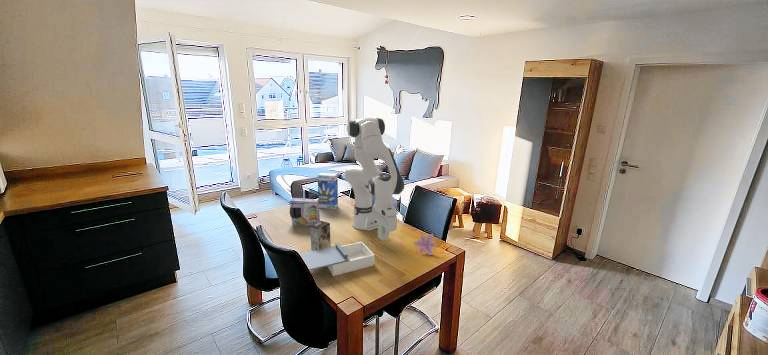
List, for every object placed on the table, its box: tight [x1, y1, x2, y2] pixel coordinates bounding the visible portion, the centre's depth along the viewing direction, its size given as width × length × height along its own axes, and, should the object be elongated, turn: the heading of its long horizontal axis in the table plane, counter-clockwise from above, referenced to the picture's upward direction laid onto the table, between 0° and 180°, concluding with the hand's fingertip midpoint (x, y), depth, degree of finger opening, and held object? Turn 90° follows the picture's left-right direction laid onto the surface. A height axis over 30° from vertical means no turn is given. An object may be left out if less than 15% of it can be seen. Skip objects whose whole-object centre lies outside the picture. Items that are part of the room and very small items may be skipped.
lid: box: [299, 242, 350, 271], centre depth 154 cm, size 22×16×3 cm
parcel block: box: [377, 222, 390, 241], centre depth 158 cm, size 4×4×8 cm
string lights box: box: [317, 172, 339, 210], centre depth 234 cm, size 13×8×26 cm, turn 81°
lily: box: [412, 233, 438, 256], centre depth 174 cm, size 12×12×10 cm
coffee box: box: [309, 220, 332, 251], centre depth 171 cm, size 9×6×16 cm
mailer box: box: [326, 241, 376, 277], centre depth 161 cm, size 22×16×6 cm
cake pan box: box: [289, 197, 321, 227], centre depth 203 cm, size 19×5×18 cm, turn 80°
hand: (383, 232), depth 159 cm, fingers closed on parcel block, 4 cm apart
